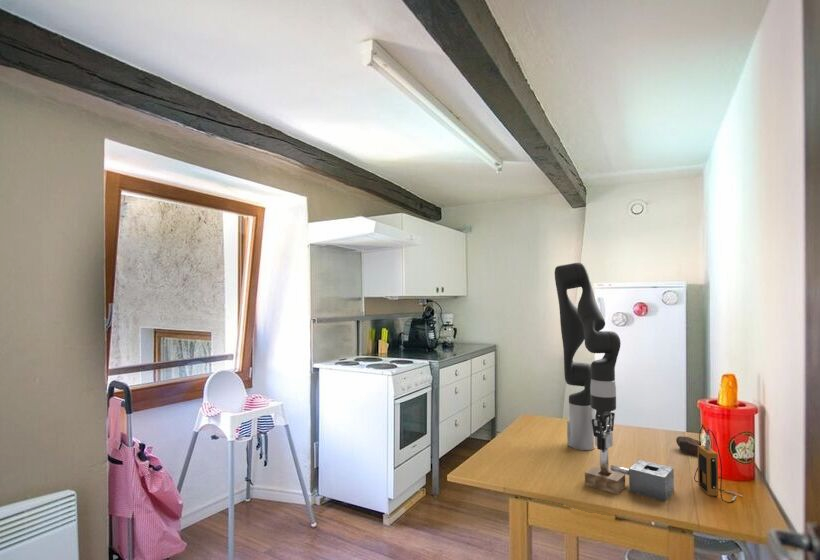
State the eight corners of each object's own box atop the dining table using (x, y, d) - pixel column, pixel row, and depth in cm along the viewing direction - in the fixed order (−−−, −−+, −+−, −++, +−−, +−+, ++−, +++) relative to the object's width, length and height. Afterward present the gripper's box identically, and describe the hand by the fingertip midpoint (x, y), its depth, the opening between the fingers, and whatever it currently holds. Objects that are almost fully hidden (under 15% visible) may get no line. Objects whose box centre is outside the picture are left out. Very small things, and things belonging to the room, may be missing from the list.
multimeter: (752, 504, 131) (751, 435, 132) (714, 502, 133) (713, 433, 134) (726, 483, 146) (725, 420, 146) (692, 481, 148) (691, 419, 148)
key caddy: (585, 485, 145) (584, 472, 145) (593, 478, 150) (593, 466, 151) (617, 494, 139) (617, 481, 139) (625, 487, 144) (625, 474, 144)
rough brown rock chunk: (708, 440, 172) (677, 431, 178) (705, 452, 167) (674, 442, 173) (706, 452, 174) (676, 442, 180) (703, 464, 170) (672, 454, 176)
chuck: (606, 485, 145) (605, 462, 145) (616, 475, 153) (616, 454, 153) (665, 501, 134) (665, 477, 134) (673, 490, 141) (673, 467, 141)
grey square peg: (608, 474, 142) (607, 435, 142) (595, 471, 144) (595, 432, 145) (613, 470, 144) (612, 432, 145) (600, 467, 147) (599, 430, 148)
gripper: (607, 399, 137) (608, 456, 137) (622, 391, 148) (623, 444, 147) (582, 395, 143) (583, 450, 142) (599, 388, 153) (600, 439, 153)
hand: (603, 447), depth 145 cm, fingers closed on grey square peg, 4 cm apart
